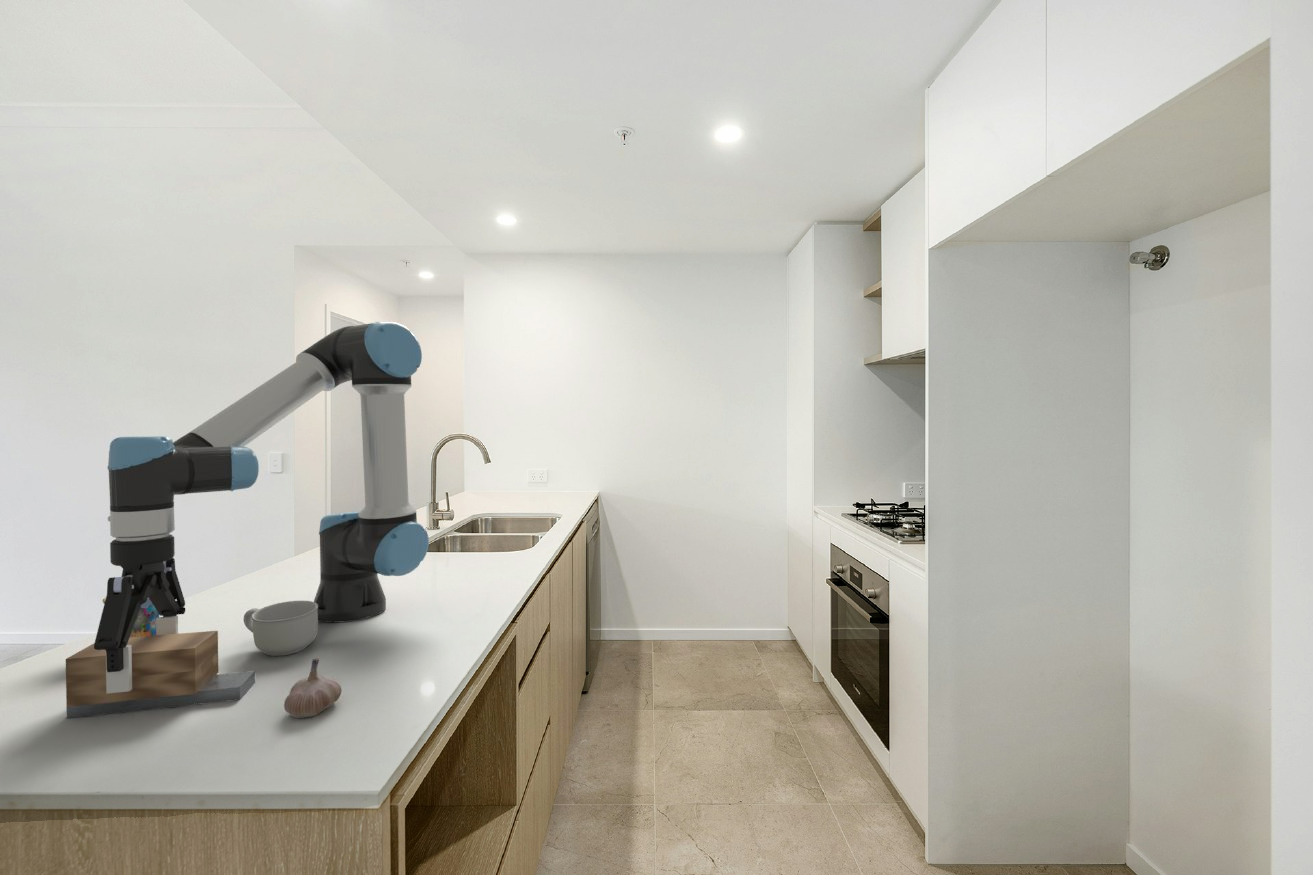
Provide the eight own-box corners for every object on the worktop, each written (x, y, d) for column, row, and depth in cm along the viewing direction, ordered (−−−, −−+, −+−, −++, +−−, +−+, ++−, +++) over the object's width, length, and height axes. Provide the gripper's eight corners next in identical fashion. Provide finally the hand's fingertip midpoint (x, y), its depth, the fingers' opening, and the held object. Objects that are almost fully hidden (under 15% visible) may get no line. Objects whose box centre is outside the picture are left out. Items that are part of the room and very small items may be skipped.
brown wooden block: (218, 672, 99) (217, 630, 99) (195, 693, 91) (194, 647, 91) (100, 683, 94) (100, 639, 94) (66, 706, 87) (65, 658, 87)
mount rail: (255, 682, 100) (254, 655, 99) (240, 699, 93) (239, 670, 93) (94, 698, 93) (93, 669, 93) (66, 718, 87) (66, 687, 87)
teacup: (331, 643, 117) (331, 603, 117) (280, 664, 107) (280, 620, 107) (279, 635, 122) (278, 596, 122) (225, 654, 112) (225, 612, 111)
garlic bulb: (339, 695, 95) (339, 645, 95) (344, 713, 89) (343, 660, 89) (284, 707, 91) (283, 655, 91) (284, 727, 85) (283, 672, 85)
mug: (153, 656, 111) (153, 599, 110) (91, 662, 108) (90, 603, 108) (183, 634, 122) (182, 583, 122) (127, 639, 119) (127, 586, 119)
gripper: (156, 524, 103) (158, 646, 104) (57, 554, 79) (60, 712, 80) (207, 522, 105) (209, 641, 106) (125, 551, 81) (128, 705, 82)
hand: (145, 672), depth 93 cm, fingers open, 13 cm apart
